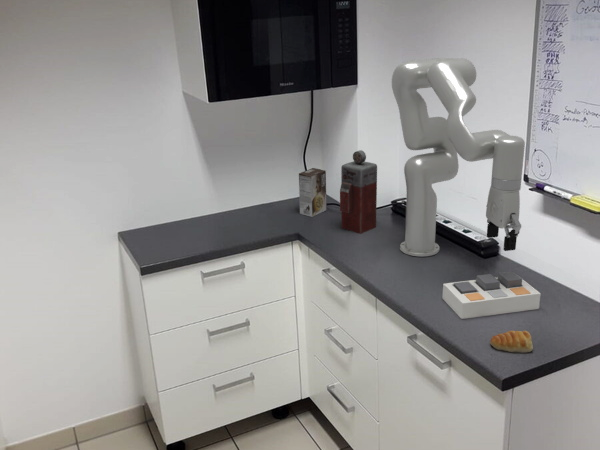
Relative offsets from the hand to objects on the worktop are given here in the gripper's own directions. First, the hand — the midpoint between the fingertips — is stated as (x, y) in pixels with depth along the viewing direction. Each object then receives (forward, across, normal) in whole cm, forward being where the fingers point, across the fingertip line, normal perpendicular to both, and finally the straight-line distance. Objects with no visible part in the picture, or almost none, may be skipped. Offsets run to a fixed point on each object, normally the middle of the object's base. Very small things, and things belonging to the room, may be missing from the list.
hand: (500, 243), depth 176 cm
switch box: (+14, +6, -5) cm, 17 cm away
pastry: (+15, +28, -10) cm, 33 cm away
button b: (+12, +4, -5) cm, 13 cm away
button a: (+13, +5, -12) cm, 18 cm away
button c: (+12, +4, +1) cm, 12 cm away
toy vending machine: (+14, -57, -25) cm, 64 cm away
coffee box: (+14, -78, -36) cm, 87 cm away
